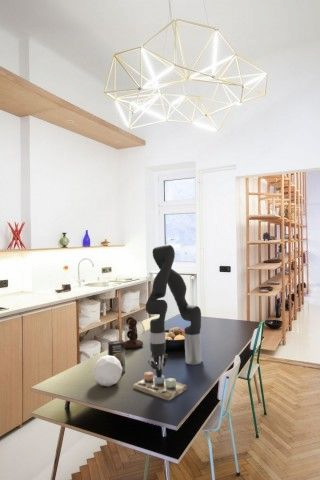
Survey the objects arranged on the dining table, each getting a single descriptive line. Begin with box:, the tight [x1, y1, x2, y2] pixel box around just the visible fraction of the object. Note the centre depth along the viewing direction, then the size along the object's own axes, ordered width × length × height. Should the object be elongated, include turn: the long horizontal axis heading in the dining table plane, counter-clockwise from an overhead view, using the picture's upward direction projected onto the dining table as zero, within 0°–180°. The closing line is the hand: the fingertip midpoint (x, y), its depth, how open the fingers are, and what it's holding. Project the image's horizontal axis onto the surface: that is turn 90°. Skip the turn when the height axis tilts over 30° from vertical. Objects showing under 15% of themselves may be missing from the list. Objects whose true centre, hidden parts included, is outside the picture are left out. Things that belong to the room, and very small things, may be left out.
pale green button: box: [165, 377, 177, 388], centre depth 156 cm, size 5×5×2 cm
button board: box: [132, 378, 188, 401], centre depth 161 cm, size 14×22×3 cm, turn 50°
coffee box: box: [107, 339, 126, 373], centre depth 187 cm, size 9×6×16 cm
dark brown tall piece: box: [123, 316, 144, 351], centre depth 229 cm, size 15×15×20 cm
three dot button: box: [154, 374, 166, 384], centre depth 161 cm, size 5×5×2 cm
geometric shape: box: [92, 354, 123, 387], centre depth 169 cm, size 14×15×15 cm
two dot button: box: [143, 371, 155, 381], centre depth 165 cm, size 5×5×2 cm
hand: (159, 376), depth 161 cm, fingers closed
